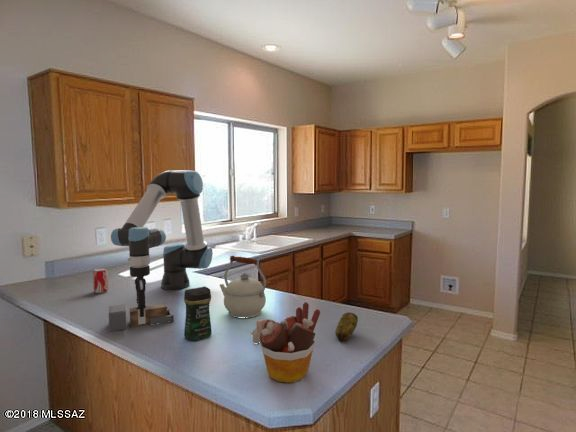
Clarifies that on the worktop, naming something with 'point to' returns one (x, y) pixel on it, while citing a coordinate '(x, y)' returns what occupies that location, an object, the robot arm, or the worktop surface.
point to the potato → (346, 326)
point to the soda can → (100, 280)
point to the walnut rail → (148, 313)
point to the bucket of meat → (288, 345)
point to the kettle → (244, 292)
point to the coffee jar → (197, 313)
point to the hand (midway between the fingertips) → (141, 321)
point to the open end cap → (163, 318)
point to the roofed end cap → (117, 317)
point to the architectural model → (256, 336)
